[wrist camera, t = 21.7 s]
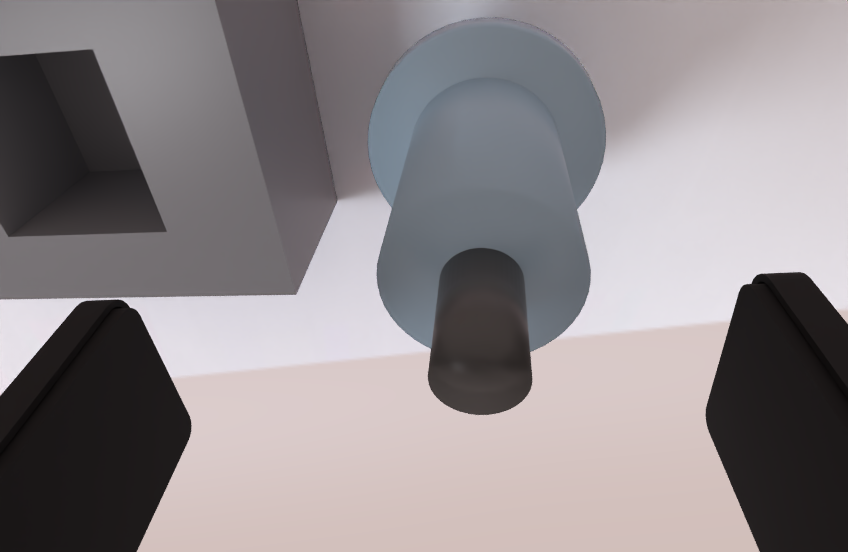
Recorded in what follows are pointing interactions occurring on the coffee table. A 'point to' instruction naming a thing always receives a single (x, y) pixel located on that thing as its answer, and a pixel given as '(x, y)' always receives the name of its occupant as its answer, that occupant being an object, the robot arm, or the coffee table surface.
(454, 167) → the plug
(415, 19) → the coffee table surface
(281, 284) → the socket block
